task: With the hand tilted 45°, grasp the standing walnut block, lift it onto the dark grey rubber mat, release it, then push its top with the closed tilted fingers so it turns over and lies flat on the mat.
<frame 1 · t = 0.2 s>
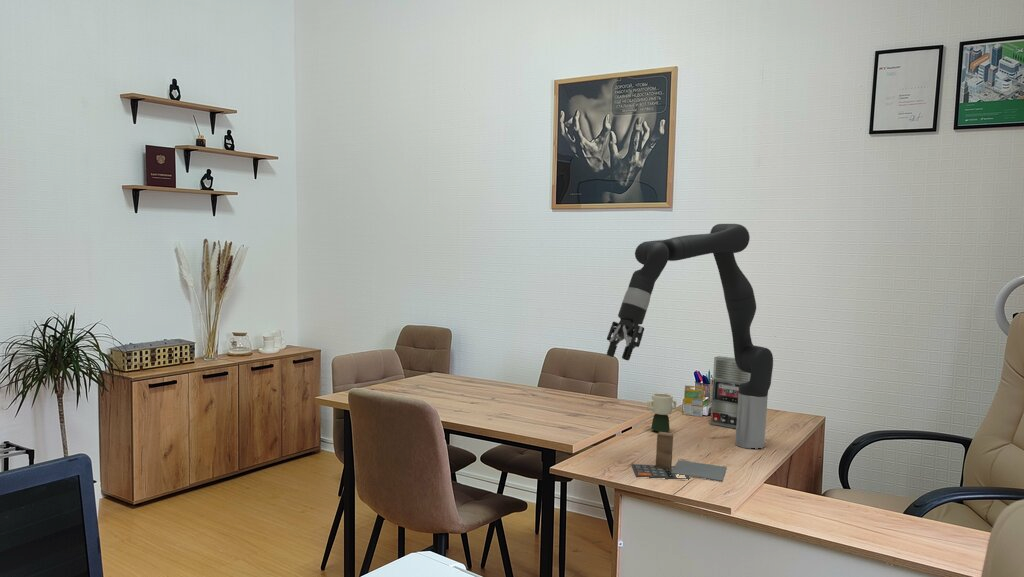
hand: (617, 357, 212), 31 cm above the table, tool tilted 20°, fingers open, 8 cm apart
crayon box: (692, 415, 283), on the table
cassette tape recorder: (730, 427, 267), on the table
block: (663, 467, 211), on the table
mat: (699, 471, 209), on the table
calculator: (660, 474, 206), on the table
character mug: (660, 432, 254), on the table
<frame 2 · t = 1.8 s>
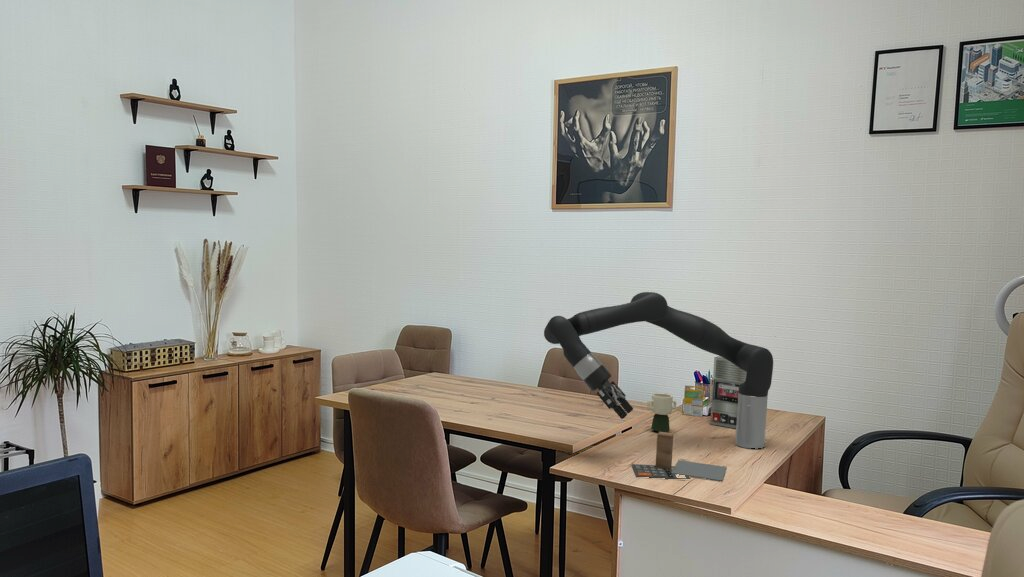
hand: (628, 414, 214), 14 cm above the table, tool tilted 45°, fingers open, 8 cm apart
nothing on the table moved.
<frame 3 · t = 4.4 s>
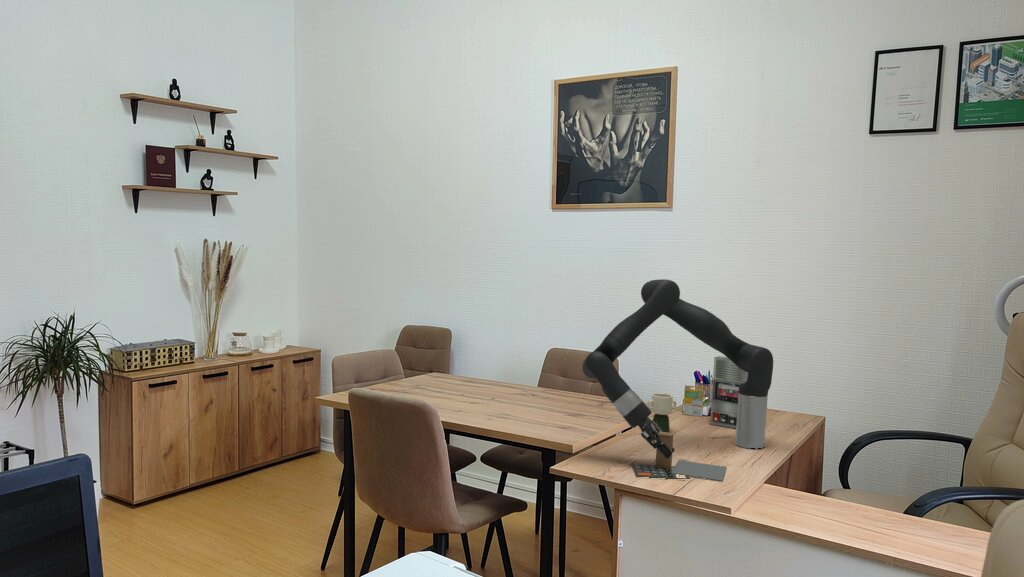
hand: (670, 454, 210), 4 cm above the table, tool tilted 45°, fingers closed on block, 4 cm apart
block: (663, 467, 211), on the table, touching gripper
everything else where it was.
when the fingers open (6 cm above the table, at t = 8.5 s): block moves 2 cm and tips over, resting on mat.
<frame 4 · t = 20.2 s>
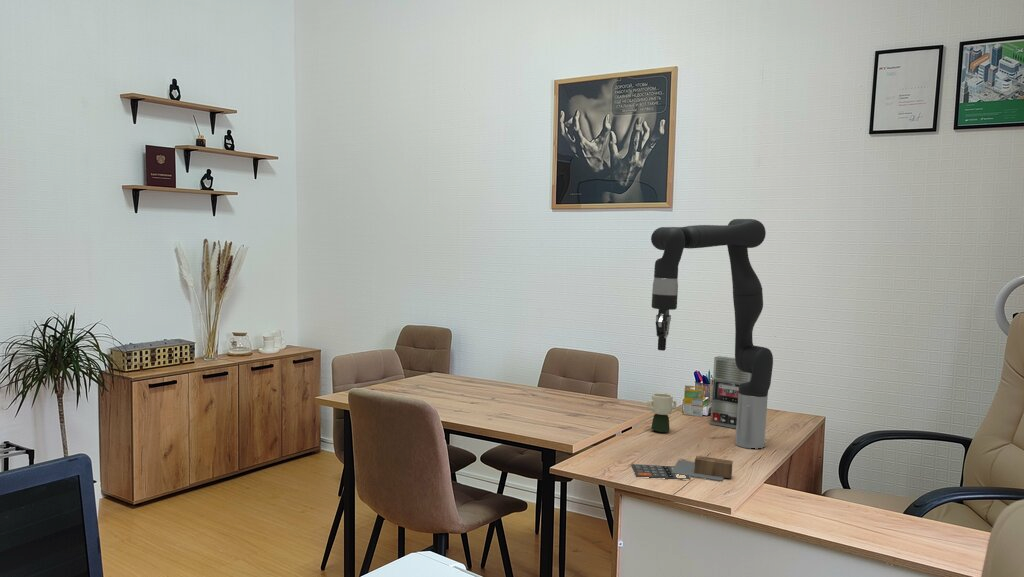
hand: (661, 350, 220), 33 cm above the table, tool pointing down, fingers closed
block: (695, 464, 208), point 2 cm above the table, tilted 90°, touching mat
everything else where it was.
at the end: block tilted 90°; block inside the target area (2.2 cm from its centre), point 2.4 cm above the table; the gripper is holding nothing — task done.
